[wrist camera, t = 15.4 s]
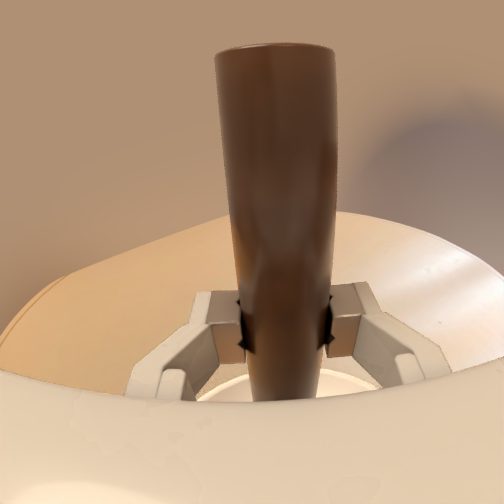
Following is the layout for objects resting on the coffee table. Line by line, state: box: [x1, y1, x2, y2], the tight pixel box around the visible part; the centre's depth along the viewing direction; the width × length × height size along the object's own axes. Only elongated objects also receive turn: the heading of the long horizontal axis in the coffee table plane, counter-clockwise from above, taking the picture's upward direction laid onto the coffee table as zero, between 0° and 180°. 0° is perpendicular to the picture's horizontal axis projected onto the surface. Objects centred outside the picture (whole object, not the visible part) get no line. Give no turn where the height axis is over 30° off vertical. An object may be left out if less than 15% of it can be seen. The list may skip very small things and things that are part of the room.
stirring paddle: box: [214, 43, 338, 402], centre depth 10 cm, size 5×3×17 cm, turn 179°
